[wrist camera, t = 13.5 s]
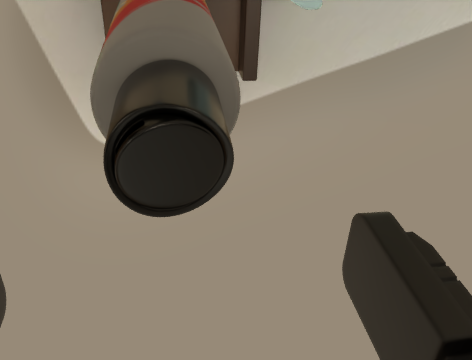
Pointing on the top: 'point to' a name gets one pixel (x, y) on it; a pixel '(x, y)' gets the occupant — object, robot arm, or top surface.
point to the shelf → (224, 30)
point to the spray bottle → (165, 106)
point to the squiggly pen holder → (308, 4)
